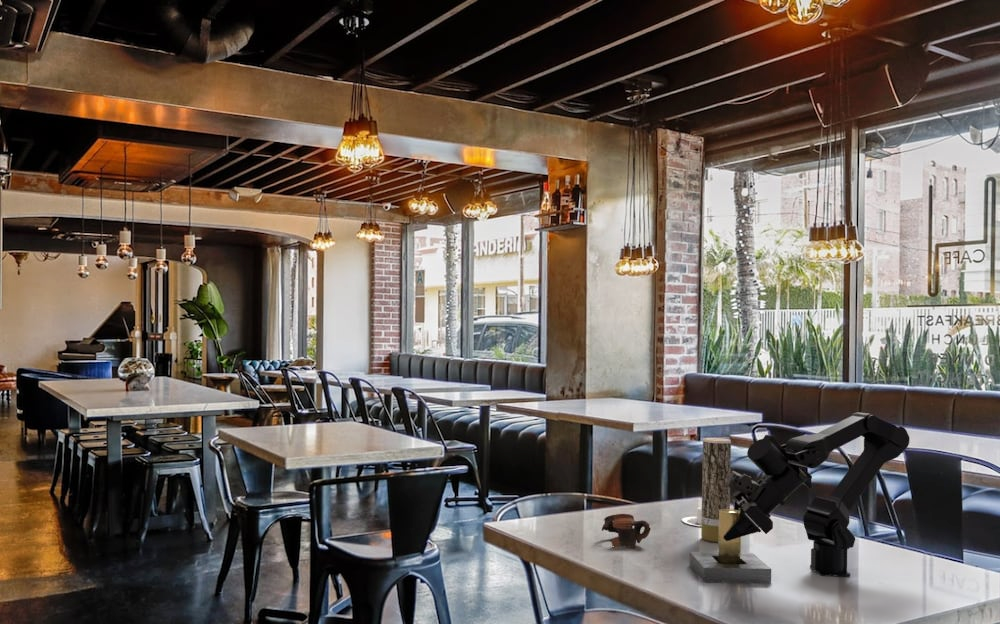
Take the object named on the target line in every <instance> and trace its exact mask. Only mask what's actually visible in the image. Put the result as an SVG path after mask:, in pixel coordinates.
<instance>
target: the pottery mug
mask: <svg viewBox="0 0 1000 624" xmlns="http://www.w3.org/2000/svg"><path fill="white" fill-rule="evenodd" d="M634 518H635V517H634V515H632V514H629V513H617V514H611V515H608V516H606V517H604V519H603V520H604V523H603V525H602V527H601V531H602V532H603V531H608V532H609V533H616V534H617V536H615V537H612V538H610V541H611V545H612V547H613V546H614V547H613V548H621V547H626V548H634V547H635V548H636V546H637V545H636V544H637V543H638V544H640V543H641V542H642V541H643V539H647V538H648V536H649V534H650V532H651V530H652V529H651V527H650V524H649V523H648V522H647V521H646V520H642V519H641V520H635V519H634ZM642 528H644V529H643V531H642V532H641V530H642Z"/></svg>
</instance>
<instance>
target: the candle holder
mask: <svg viewBox="0 0 1000 624" xmlns="http://www.w3.org/2000/svg"><path fill="white" fill-rule="evenodd" d="M696 509H697V510H696V516H686V517H683V518H681V521H682V522H683V523H685V524H687V525H691V526H695V527H702V506H700V507H697V508H696ZM691 519H692V520H696V524H694V523H692V522H688V521H691ZM698 523H699V524H698Z"/></svg>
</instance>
